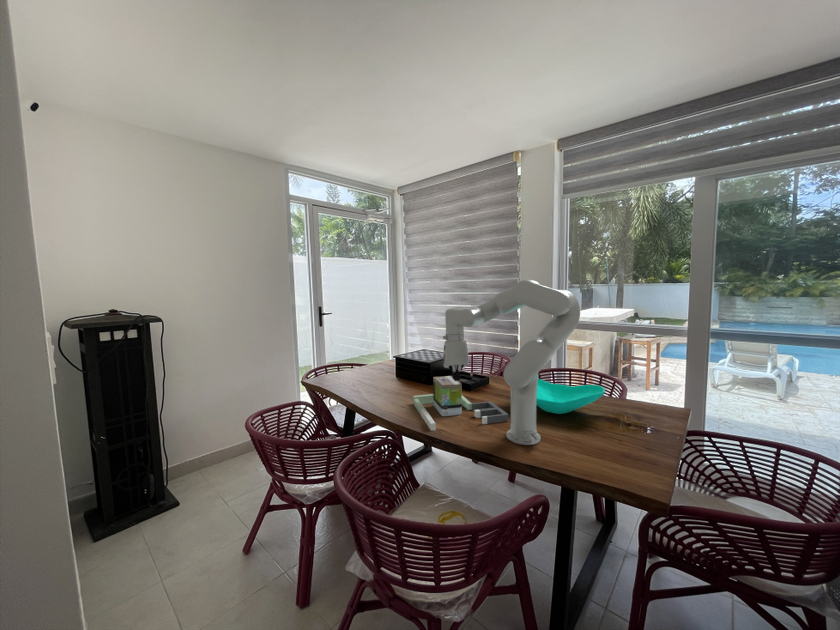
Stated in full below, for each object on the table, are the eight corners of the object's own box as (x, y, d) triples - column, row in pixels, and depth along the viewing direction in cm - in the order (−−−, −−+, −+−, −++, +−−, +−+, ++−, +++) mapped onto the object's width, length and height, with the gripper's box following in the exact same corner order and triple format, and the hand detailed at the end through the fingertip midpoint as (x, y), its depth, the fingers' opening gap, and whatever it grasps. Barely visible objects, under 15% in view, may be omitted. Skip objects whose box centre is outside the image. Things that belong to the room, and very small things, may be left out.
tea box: (462, 414, 153) (462, 383, 152) (441, 417, 151) (441, 385, 150) (452, 403, 168) (451, 374, 167) (432, 405, 166) (432, 376, 164)
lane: (487, 423, 143) (487, 414, 142) (431, 430, 137) (430, 421, 136) (459, 398, 175) (459, 391, 174) (413, 403, 169) (413, 396, 168)
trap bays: (508, 421, 145) (508, 414, 145) (487, 423, 143) (487, 416, 143) (491, 407, 162) (491, 401, 161) (471, 409, 159) (471, 403, 159)
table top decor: (607, 409, 156) (607, 381, 155) (601, 431, 133) (602, 399, 132) (522, 395, 178) (522, 371, 177) (504, 412, 155) (504, 384, 154)
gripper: (440, 340, 136) (442, 384, 137) (474, 337, 139) (476, 380, 141) (435, 337, 143) (437, 379, 145) (468, 335, 147) (469, 376, 148)
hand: (456, 380), depth 143 cm, fingers closed
